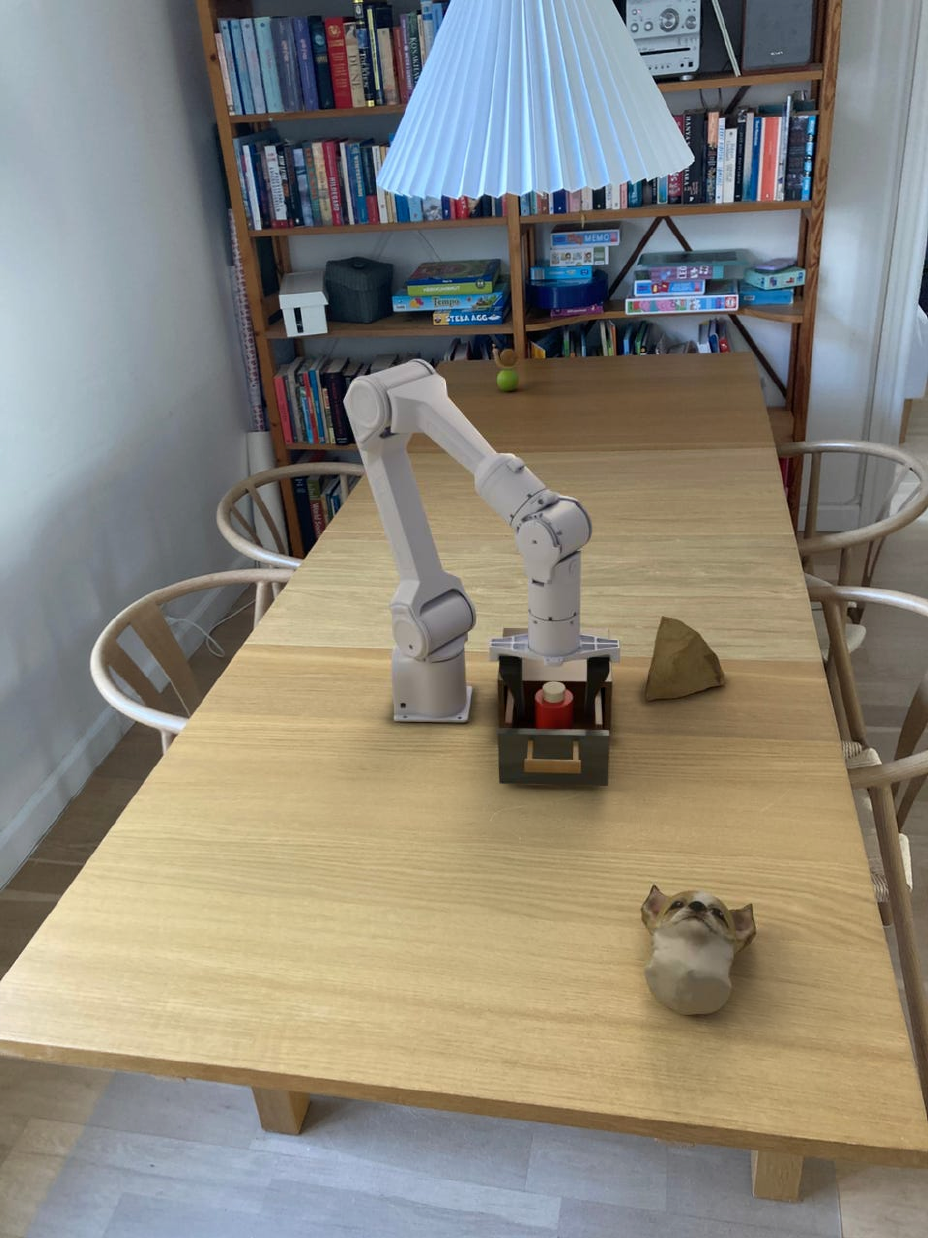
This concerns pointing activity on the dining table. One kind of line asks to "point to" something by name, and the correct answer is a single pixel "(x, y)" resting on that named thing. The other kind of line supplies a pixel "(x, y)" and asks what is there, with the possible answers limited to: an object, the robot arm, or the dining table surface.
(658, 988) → the ceramic sculpture
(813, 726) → the dining table surface
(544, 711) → the red plastic cylinder
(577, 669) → the cabinet
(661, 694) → the rock
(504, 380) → the snail figurine
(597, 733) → the drawer
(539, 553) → the robot arm
